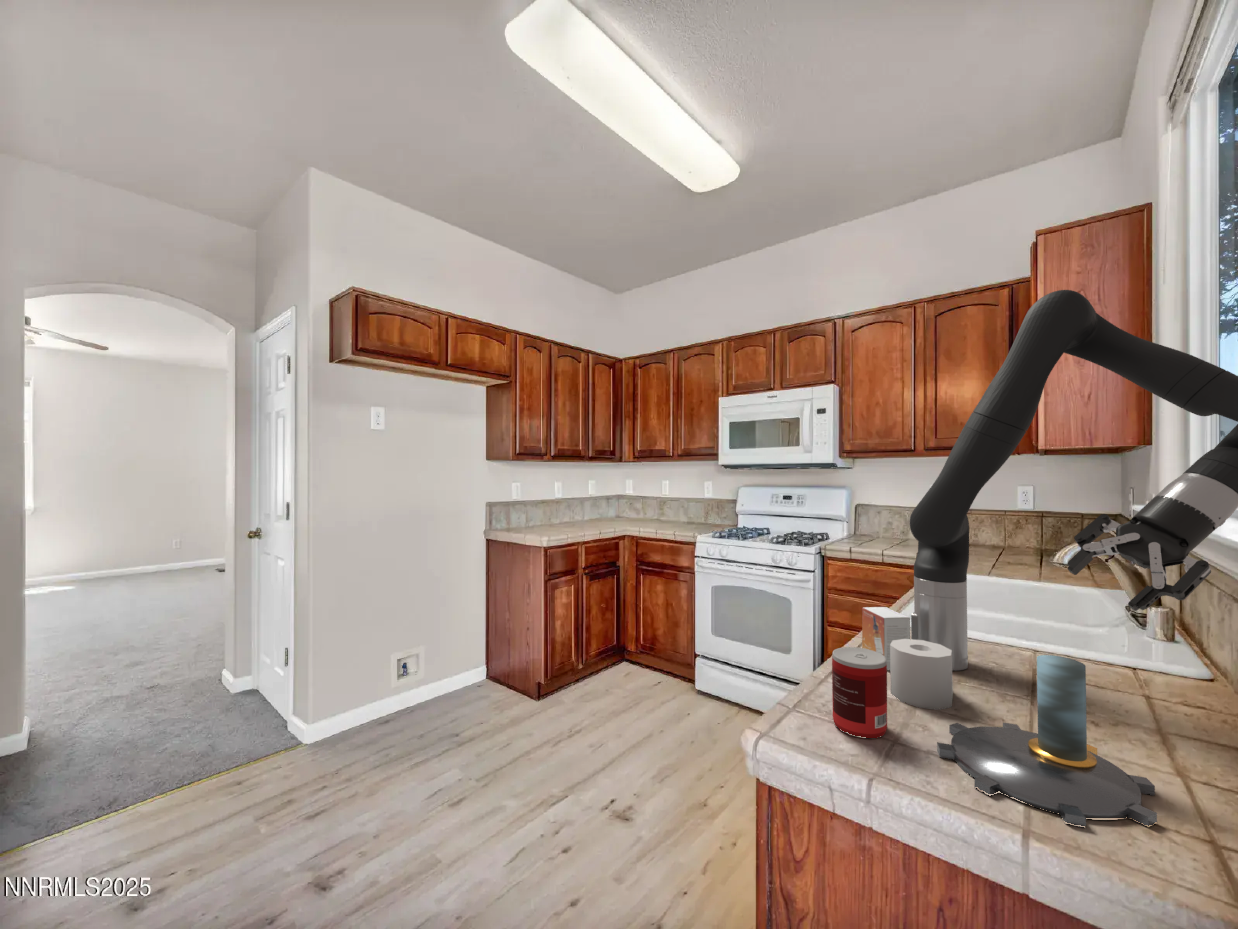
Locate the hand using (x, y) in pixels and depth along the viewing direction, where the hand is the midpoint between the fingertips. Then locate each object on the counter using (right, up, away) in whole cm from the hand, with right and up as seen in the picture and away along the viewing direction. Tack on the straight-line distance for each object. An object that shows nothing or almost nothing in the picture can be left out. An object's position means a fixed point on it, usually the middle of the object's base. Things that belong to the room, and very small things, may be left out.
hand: (1100, 589), depth 79 cm
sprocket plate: (-19, -21, -12) cm, 31 cm away
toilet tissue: (-20, -22, +11) cm, 32 cm away
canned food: (-37, -21, 0) cm, 43 cm away
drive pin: (-14, -20, -10) cm, 26 cm away
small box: (-19, -22, +26) cm, 39 cm away
